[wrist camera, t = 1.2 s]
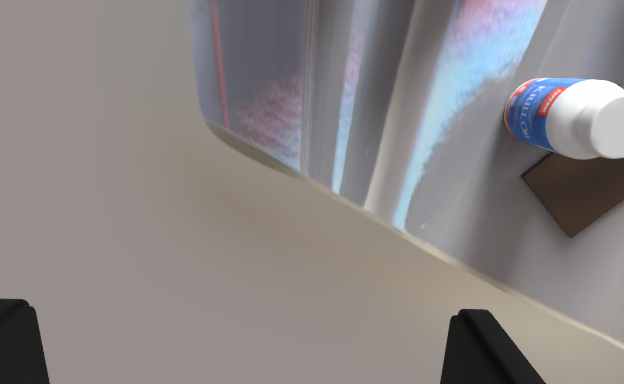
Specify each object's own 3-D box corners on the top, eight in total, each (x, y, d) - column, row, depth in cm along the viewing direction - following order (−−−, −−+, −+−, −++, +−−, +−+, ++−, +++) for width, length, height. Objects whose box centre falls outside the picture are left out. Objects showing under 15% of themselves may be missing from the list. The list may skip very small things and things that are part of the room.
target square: (520, 176, 35) (523, 177, 34) (598, 114, 33) (602, 114, 33) (568, 236, 36) (571, 238, 36) (644, 180, 35) (648, 181, 35)
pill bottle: (508, 76, 32) (592, 75, 23) (572, 79, 32) (680, 81, 23) (496, 141, 34) (569, 166, 24) (557, 145, 34) (653, 171, 25)
